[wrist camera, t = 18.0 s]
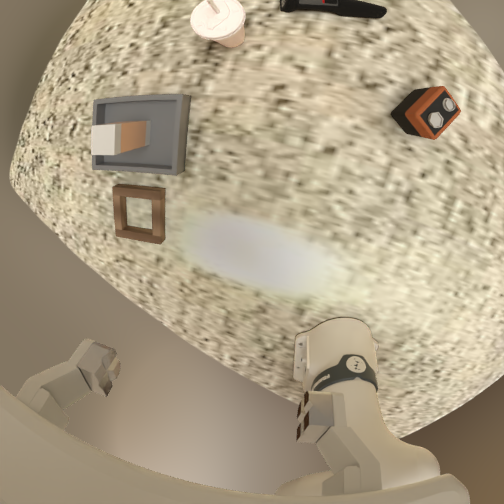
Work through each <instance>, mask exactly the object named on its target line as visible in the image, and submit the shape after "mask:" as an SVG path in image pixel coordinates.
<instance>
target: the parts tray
mask: <svg viewBox="0 0 504 504" xmlns="http://www.w3.org/2000/svg"><path fill="white" fill-rule="evenodd" d="M190 102H191V96H189V95H184V94H163V95H139V96H125V97H115V98H105V99H97V100H94V104H93V122H92V126H93V125H100V124H107V123H114V122H123V121H138V120H151V128H150V145H147V146H144V147H140V148H137V149H133V150H130V151H126V152H123V153H120V154H117V155H92V170H112V171H129V172H144V173H156V174H167V175H178V174H180V173H181V172H183V171H185V158H186V144H187V132H188V121H189V111H190Z"/></svg>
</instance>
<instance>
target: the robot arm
mask: <svg viewBox="0 0 504 504" xmlns="http://www.w3.org/2000/svg"><path fill="white" fill-rule="evenodd" d="M377 349H378V343H377V341H376V340H375V339H373V338H372V335H371V331H370V329H369V327H368V326H367V325H366V324H365V323H363V322H362V321H360V320H357V319H353V318H336V319H332V320H328V321H326V322H323V323H321V324H319V325H318V326H316V327H315V328H313V329H312V330H310V331H307V332H304V333H301V334H298V335H297V336H296V337H295V351H294V367H293V378H294V379H295V380H297V381H299V382H301V383H303V391H304V392H305V394H304V399H303V400H301V402H300V404H299V407H298V412H297V420H298V422H299V423H300V424H299V426H298V428H297V436H296V442H304V443H316V446H317V448H318V449H319V451H320V453H321V454H322V456H323V457H324V459H325V461H326V463H327V464H328V466H329V468H330V469H331V470H328V471H323V472H318V473H313V474H308V475H306V476H303V477H300V478H297V479H294V480H291V481H289V482H286V483H284V484H282V485H281V486H280V487H279V488H278V489H277V491H276V493H275V494H274V495H267V494H257V493H248V492H240V491H233V490H227V489H221V488H216V487H211V486H206V485H201V484H197V483H193V482H189V481H185V480H181V479H178V478H174V477H171V476H167V475H164V474H161V473H158V472H155V471H152V470H149V469H146V468H143V467H140V466H137V465H135V464H132V463H130V462H127V461H125V460H122V459H120V458H118V457H115V456H113V455H111V454H108V453H106V452H104V451H102V450H100V449H98V448H96V447H94V446H92V445H90V444H88V443H86V442H84V441H82V440H80V439H78V438H76V437H75V436H73V435H71V434H69V433H67V432H66V431H64V430H65V428H66V426H67V424H68V422H69V417H68V416H67V415H66V413H65V412H64V411H63V410H65V409H66V408H68V407H69V406H71V405H72V404H74V403H75V402H77V401H79V400H80V399H81V398H83V397H84V396H86V395H88V394H89V393H91V391H93V392H95V393H98V394H100V395H103V396H105V397H107V396H108V394H109V392H110V390H111V388H112V381H113V380H115V379H117V377H118V375H119V372H120V361H119V360H118V358H117V357H116V354H117V353H116V350H115V349H113V348H111V347H108V346H106V345H103V344H100V343H97V342H96V341H93V340H90V339H88V338H86V339H84V340H83V341H82V342H81V344H80V345H79V346H78V348H77V349H76V351H75V352H74V353H73V355H72V356H71V358H70V359H69V361H68V362H62V363H60V364H58V365H56V366H54V367H51V368H49V369H47V370H45V371H43V372H41V373H38V374H36V375H34V376H32V377H30V378H28V379H27V381H26V382H25V384H24V385H23V387H22V388H21V390H20V391H19V392H18V394H17V395H16V397H14V396H13V395H12V394H11V393H9V392H8V391H7V390H6V389H4V388H3V387H2V386H1V385H0V504H470V498H469V493H468V490H467V488H466V487H465V486H464V485H463V484H462V483H461V482H460V481H459V480H458V479H456V478H455V477H454V476H453V475H451V474H444V475H440V467H439V464H438V461H437V459H436V458H435V456H434V455H433V454H432V453H431V452H430V451H428V450H427V449H425V448H422V447H419V446H414V445H410V444H407V443H405V442H403V441H401V440H399V439H398V438H396V437H395V436H394V435H393V434H392V433H391V432H390V431H389V429H388V428H387V426H386V425H385V423H384V420H383V417H382V414H381V410H380V406H379V402H378V398H377V391H378V386H377V384H378V383H377V378H376V375H375V374H376V373H377V372H378V366H377V359H376V352H375V351H376V350H377Z"/></svg>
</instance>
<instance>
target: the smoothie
mask: <svg viewBox="0 0 504 504" xmlns="http://www.w3.org/2000/svg"><path fill="white" fill-rule="evenodd" d="M244 21H245V11H244V8H243V7H242V5H241V4H240V3H239V2H238V1H237V0H204V1H203V2H201V3H200V4H199V5H197V6H196V8H195V9H194V10H193V12H192V14H191V19H190V22H191V26H192V28H193V30H194V31H195V32H196V33H197V35H199V36H200V37H202V38H204V39H207V40H214V41H216V42H218V43H220V44H222V45H224V46H226V47H230V48H233V47H237V46H239V45H240V44H242V43H243V41H244V39H245V32H244Z"/></svg>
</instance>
